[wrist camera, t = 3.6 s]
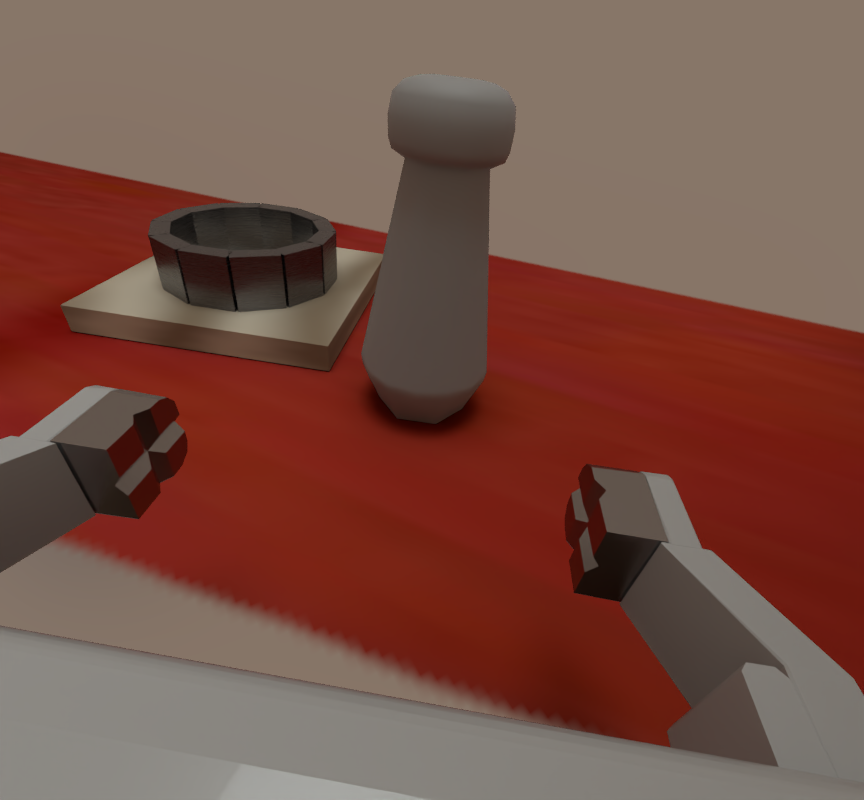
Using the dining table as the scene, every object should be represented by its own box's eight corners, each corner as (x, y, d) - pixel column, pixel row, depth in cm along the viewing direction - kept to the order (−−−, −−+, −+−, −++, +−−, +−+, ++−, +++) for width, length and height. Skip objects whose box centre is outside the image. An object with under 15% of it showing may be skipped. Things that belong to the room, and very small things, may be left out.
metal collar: (352, 259, 32) (352, 216, 30) (303, 322, 24) (298, 268, 22) (217, 239, 32) (209, 195, 30) (124, 295, 24) (105, 239, 23)
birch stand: (384, 273, 34) (385, 254, 33) (328, 371, 23) (327, 346, 22) (209, 247, 35) (205, 228, 34) (71, 331, 24) (60, 305, 23)
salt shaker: (396, 451, 19) (425, 76, 11) (343, 380, 23) (335, 61, 15) (502, 414, 22) (584, 93, 14) (439, 357, 25) (475, 77, 18)
